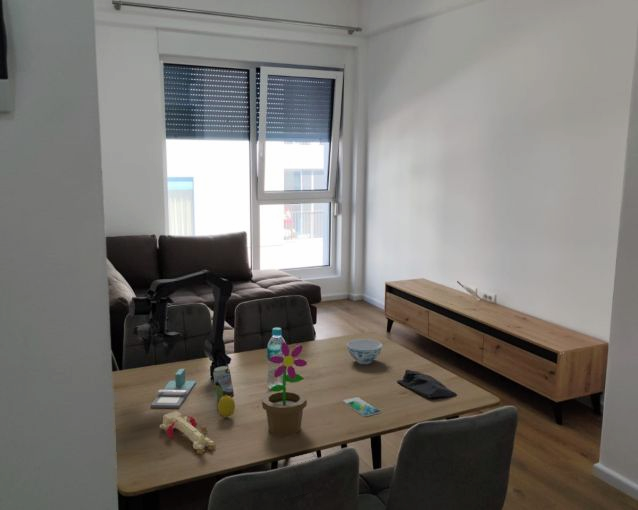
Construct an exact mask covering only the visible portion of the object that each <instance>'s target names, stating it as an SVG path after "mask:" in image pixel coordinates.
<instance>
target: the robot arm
mask: <svg viewBox="0 0 638 510" xmlns="http://www.w3.org/2000/svg"><path fill="white" fill-rule="evenodd" d="M202 283H207V284H208V285H209V286H211V288H212V289H211V290H212V296H213V300H214V305H213V313H212V314H213V315H212V321H211V322H212V323H211V332H210V337H209V339H207V340H204V348H203V351H204V355H205V356H206V357H207V358H208V359H209V361H211V363H210V366H209V375H210V380H214V376H213V372H214V369H215V368H217V367H221V366H227V367H228V369H229V365H230V364H231V363H232V358H231V357H230V356H229V355H227V353H226V344H225V341H224V331H225V323H226V322H225V321H226V314H227V313H226V312H227V304H228V301H229V300H230V298H231V297H232V293H233V290H234V283H232V281H230V280H228V279H225V278H222V277H220V276H217V275H216V274H214V273H213V272H212V271H210V270H207V269H201V271H197V272H192V273H190V274H187V275H183V276H179V277H176V278H171V279H170V278H168V279H167V278H165V279H156V280H153V281H152V283H151V284H150V287H149V289H148V290H147V291H146V293H145V294H144V295H143V296H142V297H137V296H132V297H131V300H130V302H129V305H128V312H129V315H130V317H147V316H148V317H147V319H146V323H143V324H142V325H137V326H135V327H134V328H133V330H132V331H133V335H135V337H136V338H138V340H139V341H140V342H141V346H142V349H143V351H144V355H149V352H150V347H151V344H152V339H153V337H159V338H161V339H162V340H163V342H162V344H163V347H164V349H163V359H164V360H168V358H169V356H170V354H171V352H172V351H173V348H174V347H175V346H176V345H177V344H178V343H179V342H182V340H183V335H182V333H180V332H176V331H171V332H169V328H167V321H168V322H169V320H170V317H168V316H167V315H168V304H173V303H174V300H173V299H171V297H170V296H172V295H174V294H175V293H176V292H178V291H180V290H182V289H185V288H189V287H193V286H195V285H199V284H202ZM149 315H150V317H149ZM229 370H230V369H229Z"/></svg>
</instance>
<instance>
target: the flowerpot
mask: <svg viewBox="0 0 638 510" xmlns="http://www.w3.org/2000/svg"><path fill="white" fill-rule="evenodd" d="M280 350H281V353H282V355H283V356H284V357H282V356H281V355H276V354H275V355H272V356H269V361H270V362H271V363H273V364H279V366H278V367H277V368H276V369H275V370H274V374H273V377H275V379H276V378H278V377H281V376H282V384H276V385H272V386H271V388H269V392H267V393H265V394H264V395H263V396H262V397H261V405H262V409H263V410H265V412H266V417H267V418H266V419H267V423H268V424H267V427H268V431H269V433H270V434H272V435H274V436H280V437H287V436H288V437H289V436H293V435H296V434H298V433H299V431H301V428H302V420H303V411H304V409H305V408H306V407H307V406H308V405H307V404H308V402H307V396H306V394H304V393H303V392H301V391H299V390H291V389H286V387H287V386H286V384H287V383H286V382H288V383H291V384H292V383H298V382H301V381H303V380H304V379H305V378H304V377H303V376H302V375H300V374H299V373H297V372H296V369H295V367H293V366H292V365H293V364H294V366H296V367H305V366H307V364H308V362H307V361H306V360H304V359H303V358H298V356H299V355H301V352H302V351H303V345H302V344H299V345H297V346H295V347H294V348H293V349H292V351H291V352H290V347H289V345H288V344H287V343H286V342H282V343H281V347H280ZM290 353H291V354H290ZM294 358H295V359H294ZM280 364H281V365H280Z"/></svg>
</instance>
